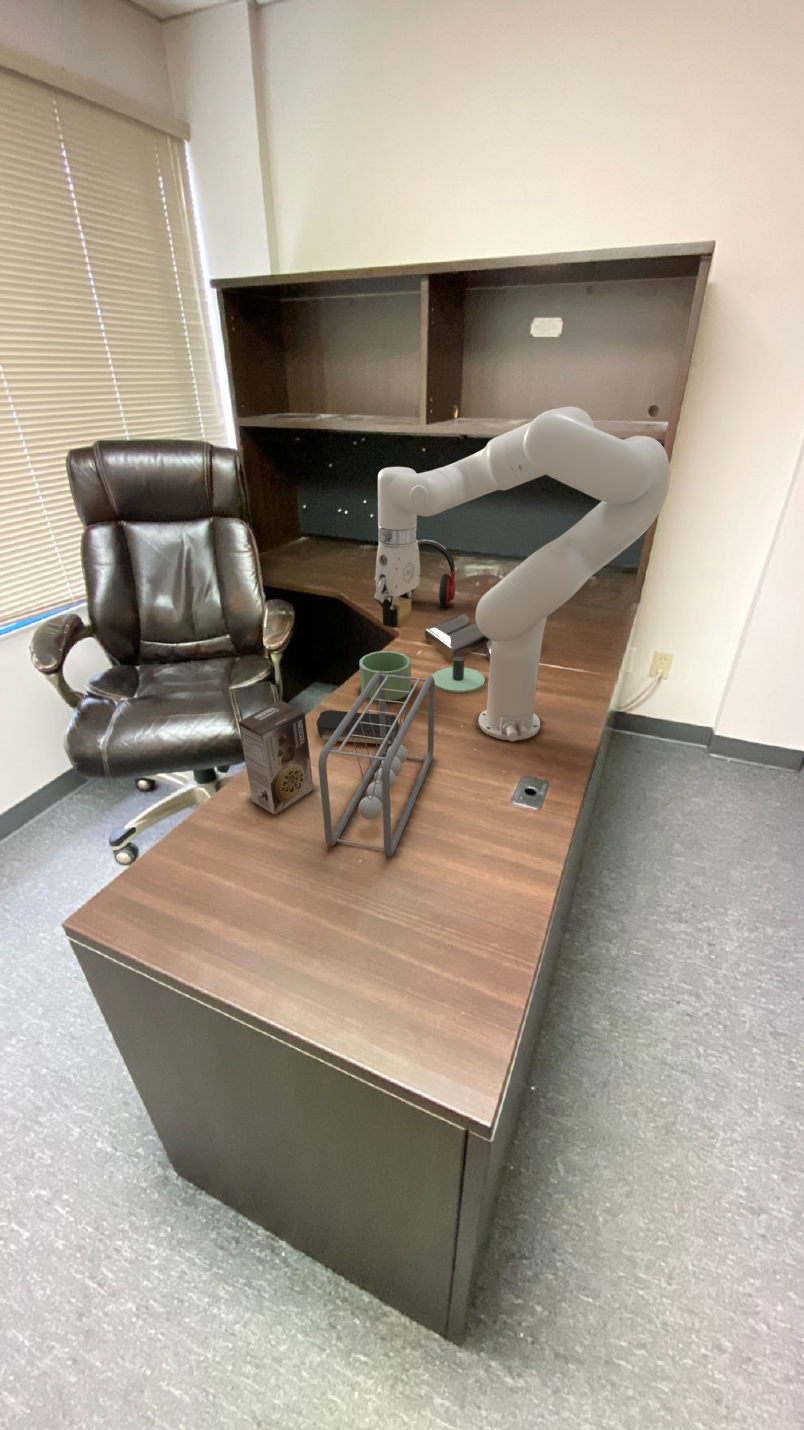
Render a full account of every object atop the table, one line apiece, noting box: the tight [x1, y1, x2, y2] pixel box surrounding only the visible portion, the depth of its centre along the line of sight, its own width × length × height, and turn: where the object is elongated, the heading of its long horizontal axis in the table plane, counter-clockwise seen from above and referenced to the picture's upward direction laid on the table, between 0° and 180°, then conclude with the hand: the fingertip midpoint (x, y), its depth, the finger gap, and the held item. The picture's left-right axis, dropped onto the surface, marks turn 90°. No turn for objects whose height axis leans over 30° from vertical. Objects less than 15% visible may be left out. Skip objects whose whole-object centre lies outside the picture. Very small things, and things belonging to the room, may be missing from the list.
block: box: [381, 597, 412, 629], centre depth 127 cm, size 4×4×5 cm
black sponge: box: [316, 709, 400, 745], centre depth 122 cm, size 16×8×4 cm, turn 81°
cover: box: [431, 656, 486, 694], centre depth 141 cm, size 12×12×6 cm
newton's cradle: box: [317, 671, 436, 858], centre depth 100 cm, size 30×10×18 cm, turn 165°
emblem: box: [424, 613, 492, 662], centre depth 162 cm, size 28×5×28 cm
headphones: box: [412, 538, 456, 608], centre depth 184 cm, size 18×10×20 cm, turn 78°
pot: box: [359, 650, 412, 702], centre depth 138 cm, size 11×11×8 cm
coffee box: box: [237, 700, 314, 815], centre depth 102 cm, size 9×6×16 cm
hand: (396, 621), depth 129 cm, fingers closed on block, 4 cm apart
